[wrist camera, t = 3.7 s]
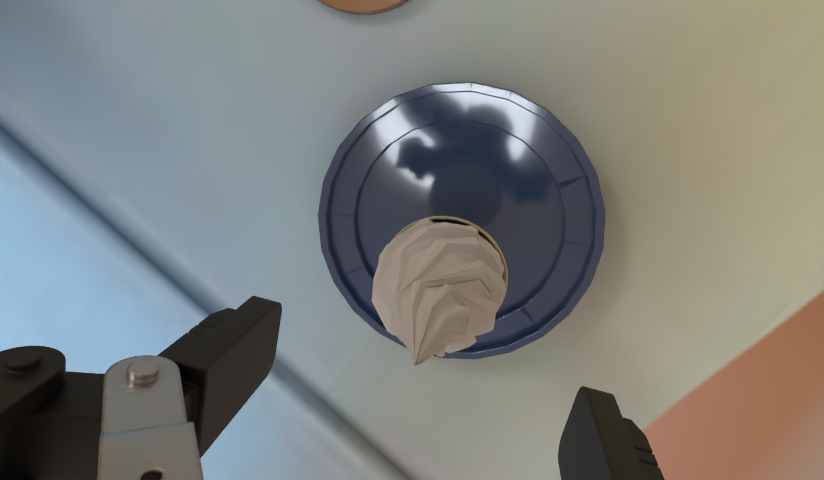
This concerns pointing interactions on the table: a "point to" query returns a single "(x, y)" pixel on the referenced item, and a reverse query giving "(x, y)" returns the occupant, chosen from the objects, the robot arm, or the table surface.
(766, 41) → the table surface
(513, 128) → the plate
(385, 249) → the ice cream cone
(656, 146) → the table surface
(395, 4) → the coaster
